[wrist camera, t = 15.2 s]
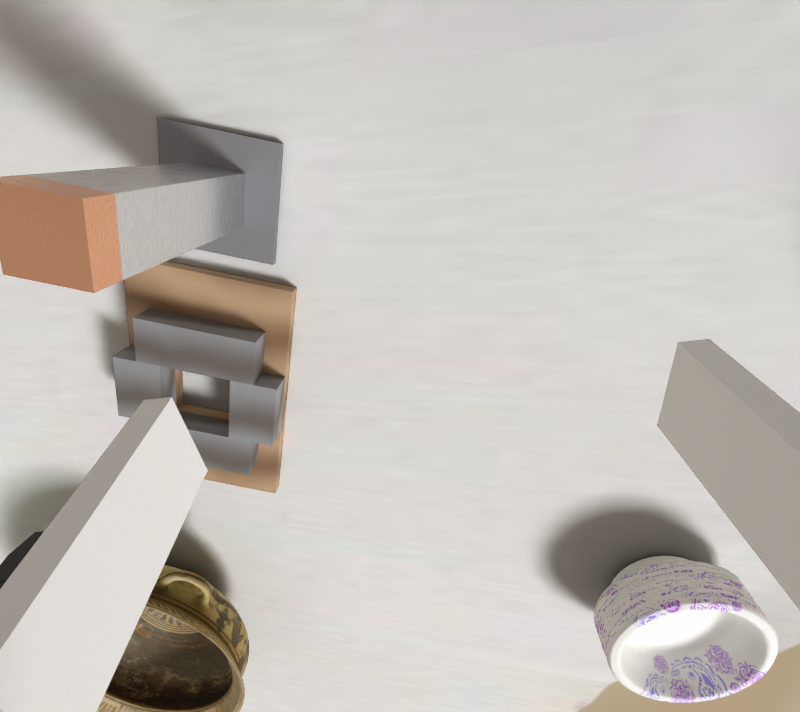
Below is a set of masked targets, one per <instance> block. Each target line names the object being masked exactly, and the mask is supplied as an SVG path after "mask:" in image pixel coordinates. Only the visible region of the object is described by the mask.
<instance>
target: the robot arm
mask: <svg viewBox="0 0 800 712" xmlns="http://www.w3.org/2000/svg"><path fill="white" fill-rule="evenodd" d="M657 426H658V427H659V428H660V430H661V431H662V432H663V434H664V435H665V436H666V438H667V439H668V440H669V441H670V443H671V444H672V445H673V447H674V448H675V449H676V451H677V452H678V453H679V454H680V456H681V457H682V458H683V460H684V461H685V462H686V463H687V465H688V466H689V467H690V469H691V470H692V471H693V473H694V474H695V475H696V476H697V478H698V479H699V480H700V482H701V483H702V484H703V485H704V487H705V488H706V489H707V491H708V492H709V493H710V495H711V496H712V497H713V498H714V500H715V501H716V502H717V504H718V505H719V506H720V508H721V509H722V510H723V511H724V513H725V514H726V515H727V517H728V518H729V519H730V520H731V522H732V523H733V524H734V526H735V527H736V528H737V530H738V531H739V532H740V533H741V535H742V536H743V537H744V539H745V540H746V541H747V543H748V544H749V545H750V546H751V548H752V549H753V550H754V552H755V553H756V554H757V555H758V557H759V558H760V559H761V561H762V562H763V563H764V565H765V566H766V567H767V568H768V570H769V571H770V572H771V574H772V575H773V576H774V577H775V579H776V580H777V581H778V583H779V584H780V585H781V587H782V588H783V589H784V590H785V592H786V593H787V594H788V596H789V597H790V598H791V600H792V601H793V602H794V603H795V605H796V606H797V607H798V609H799V610H800V413H799V412H798V411H797V410H795V409H794V408H793V407H792V406H791V405H789V404H788V403H787V402H786V401H784V400H783V399H782V398H781V397H780V396H778V395H777V394H776V393H775V392H773V391H772V390H771V389H770V388H769V387H767V386H766V385H765V384H764V383H762V382H761V381H760V380H759V379H757V378H756V377H755V376H754V375H753V374H751V373H750V372H749V371H748V370H746V369H745V368H744V367H743V366H742V365H740V364H739V363H738V362H737V361H735V360H734V359H733V358H732V357H731V356H729V355H728V354H727V353H726V352H724V351H723V350H722V349H721V348H719V347H718V346H717V345H716V344H715V343H713V342H712V341H711V340H710V339H705V340H696V341H687V342H678V345H677V349H676V353H675V357H674V361H673V364H672V368H671V372H670V376H669V380H668V384H667V388H666V392H665V396H664V400H663V404H662V408H661V412H660V416H659V420H658V424H657ZM207 471H208V470H207V468H206V466H205V464H204V462H203V460H202V458H201V456H200V454H199V452H198V450H197V448H196V446H195V443H194V441H193V439H192V437H191V435H190V433H189V431H188V429H187V427H186V425H185V423H184V421H183V419H182V417H181V415H180V413H179V411H178V409H177V407H176V405H175V402H174V400H173V398H172V397H168V398H158V399H149V400H143V402H142V403H141V404H140V406H139V407H138V408H137V410H136V411H135V412H134V414H133V415H132V416H131V418H130V419H129V420H128V422H127V423H126V424H125V426H124V427H123V428H122V429H121V431H120V432H119V433H118V435H117V436H116V437H115V439H114V440H113V441H112V443H111V444H110V445H109V447H108V448H107V449H106V451H105V452H104V453H103V454H102V456H101V457H100V458H99V460H98V461H97V462H96V464H95V465H94V466H93V468H92V469H91V470H90V472H89V473H88V474H87V476H86V477H85V478H84V480H83V481H82V482H81V483H80V485H79V486H78V487H77V489H76V490H75V491H74V493H73V494H72V495H71V497H70V498H69V499H68V501H67V502H66V503H65V505H64V506H63V507H62V508H61V510H60V511H59V512H58V514H57V515H56V516H55V518H54V519H53V520H52V522H51V523H50V524H49V526H48V527H47V528H46V530H45V531H43V532H35V533H34V534H33V535H31V536H30V537H29V538H28V539H27V540H26V541H24V542H23V543H22V544H21V545H20V546H19V547H17V548H16V549H15V550H14V551H13V552H11V553H10V554H9V555H8V556H7V557H6V559H5V560H4V561H3V562H2V564H1V565H0V712H97V710H98V707H99V705H100V703H101V701H102V699H103V697H104V694H105V692H106V690H107V688H108V686H109V684H110V681H111V679H112V677H113V675H114V673H115V671H116V668H117V666H118V664H119V662H120V660H121V658H122V655H123V653H124V651H125V649H126V647H127V645H128V642H129V640H130V638H131V636H132V634H133V632H134V629H135V627H136V625H137V623H138V621H139V618H140V616H141V614H142V612H143V610H144V608H145V605H146V603H147V601H148V599H149V597H150V595H151V592H152V590H153V588H154V586H155V584H156V582H157V579H158V577H159V575H160V573H161V571H162V569H163V566H164V564H165V562H166V560H167V558H168V556H169V553H170V551H171V549H172V547H173V545H174V543H175V540H176V538H177V536H178V534H179V532H180V530H181V527H182V525H183V523H184V521H185V519H186V516H187V514H188V512H189V510H190V508H191V506H192V503H193V501H194V499H195V497H196V495H197V493H198V490H199V488H200V486H201V484H202V482H203V480H204V477H205V475H206V473H207Z"/></svg>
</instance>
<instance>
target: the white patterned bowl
mask: <svg viewBox="0 0 800 712" xmlns="http://www.w3.org/2000/svg"><path fill="white" fill-rule="evenodd" d="M594 622H595V626H596V629H597V632H598V635H599V638H600V641H601V644H602V648H603V650H604V653H605V655H606V657H607V661H608V665H609V667H610V669H611V671H612V673H613V674H614V676H615V677H616V678H617V679H618V680H619V681H620V682H621V683H622V684H623V685H624V686H625V687H627V688H628V689H630V690H631V691H633V692H635V693H637V694H640V695H642V696H644V697H648V698H651V699H655V700H659V701H666V702H677V703H680V702H681V703H687V702H699V701H706V700H712V699H716V698H720V697H724V696H727V695H730V694H733V693H736V692H737V691H740V690H742V689H744V688H746V687H748V686H749V685H751V684H753V683H754V682H756V681H757V680H758V679H760V678H761V677H762V676H763V675H764V674H765V673H766V672H767V671H768V670H769V669H770V667H771V666H772V664H773V662H774V660H775V658H776V655H777V652H778V638H777V634H776V631H775V629H774V628H773V626H772V625H771V623H770V622H769V620H768V618H767V617H766V615H765V614H764V613H763V611H762V610H761V609H760V607H759V606H758V605H757V604H756V602H755V601H754V599H753V597H752V596H751V595H750V593H749V591H748V590H747V589H746V588H745V586H744V585H743V584H742V582H741V581H740V580H739V578H738V577H737V576H736V575H734V574H733V573H731V572H730V571H728V570H727V569H724V568H722V567H718V566H715V565H713V564H709V563H705V562H699V561H697V562H695V561H691V560H688V559H685V558H681V557H676V556H654V557H649V558H645V559H641V560H639V561H636V562H634V563H632V564H630V565H628V566H627V567H625V568H624V569H623V570H621V571H620V572H619V573H618V574H617V576H616V577H615V578H614V579H613V581H612V583H611V585H610V586H609V587H607V588H606V590H604V592H603V593H602V594H601V595H600V597H599V599H598V602H597V604H596V606H595V612H594Z"/></svg>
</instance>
